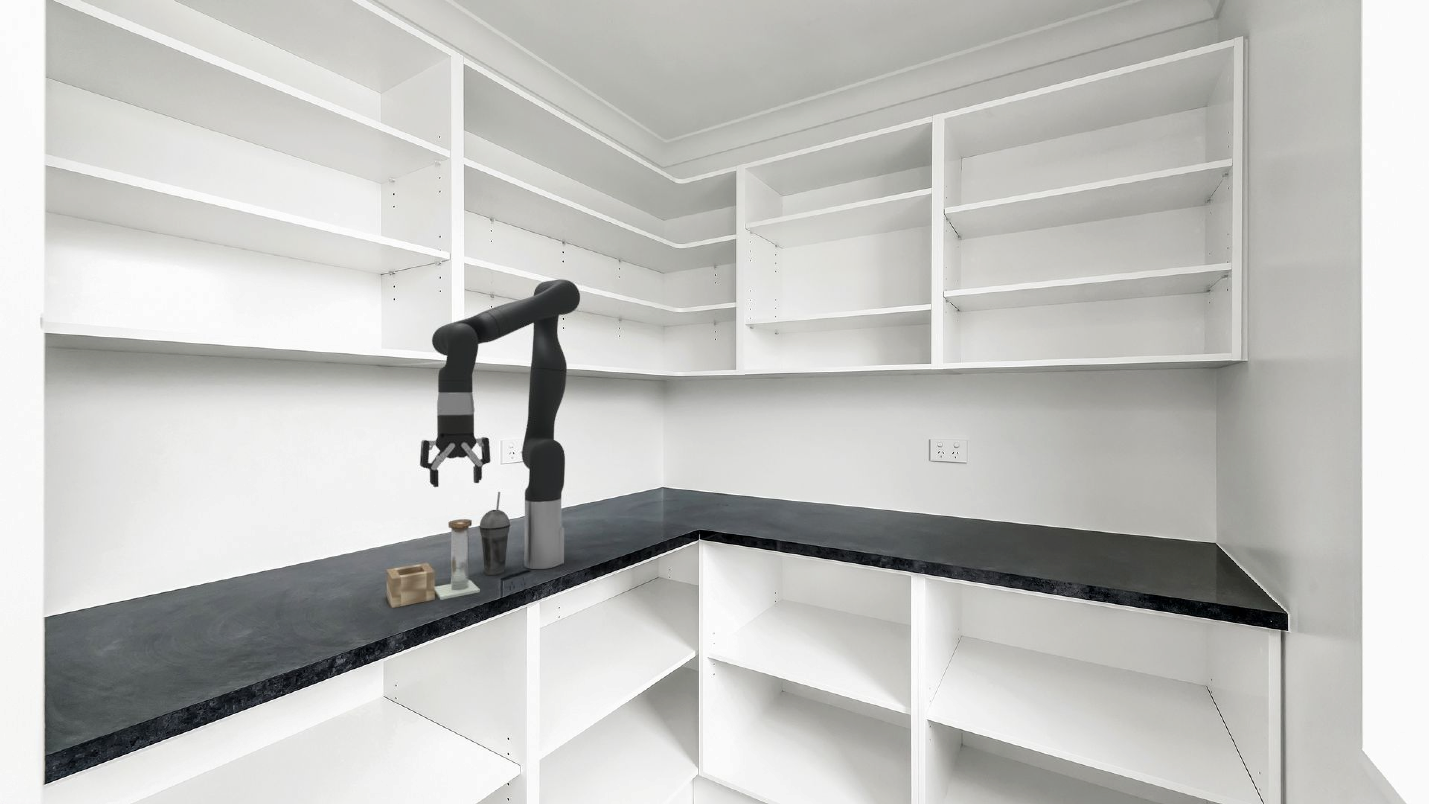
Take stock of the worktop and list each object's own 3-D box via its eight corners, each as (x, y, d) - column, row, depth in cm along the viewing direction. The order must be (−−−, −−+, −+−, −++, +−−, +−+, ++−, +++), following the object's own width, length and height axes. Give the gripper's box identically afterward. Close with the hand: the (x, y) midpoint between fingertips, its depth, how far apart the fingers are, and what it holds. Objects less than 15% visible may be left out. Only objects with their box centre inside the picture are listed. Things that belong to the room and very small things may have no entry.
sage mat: (470, 582, 130) (470, 580, 130) (479, 592, 124) (479, 589, 124) (432, 589, 125) (432, 587, 125) (440, 599, 119) (440, 597, 119)
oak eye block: (427, 589, 126) (427, 563, 126) (434, 599, 119) (434, 571, 119) (386, 596, 121) (386, 569, 121) (392, 607, 114) (392, 579, 114)
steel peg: (468, 582, 129) (468, 518, 129) (473, 588, 125) (474, 521, 125) (446, 586, 126) (446, 521, 126) (450, 592, 122) (451, 524, 122)
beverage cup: (472, 573, 138) (473, 493, 138) (498, 566, 144) (498, 489, 144) (490, 578, 134) (490, 495, 134) (516, 570, 140) (516, 491, 140)
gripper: (484, 412, 132) (484, 479, 132) (417, 413, 123) (417, 485, 123) (493, 412, 126) (493, 483, 126) (423, 414, 117) (424, 490, 117)
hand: (456, 484), depth 125 cm, fingers open, 8 cm apart
